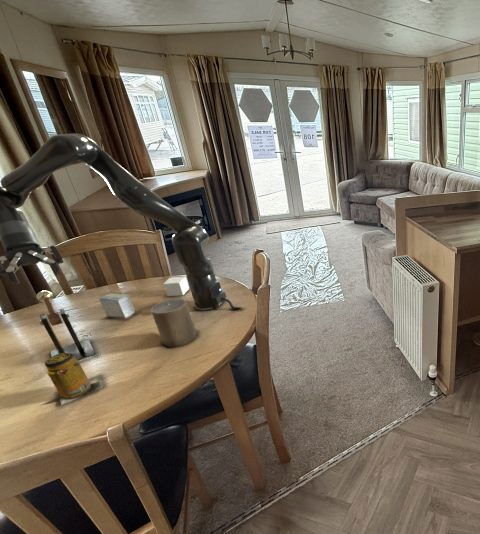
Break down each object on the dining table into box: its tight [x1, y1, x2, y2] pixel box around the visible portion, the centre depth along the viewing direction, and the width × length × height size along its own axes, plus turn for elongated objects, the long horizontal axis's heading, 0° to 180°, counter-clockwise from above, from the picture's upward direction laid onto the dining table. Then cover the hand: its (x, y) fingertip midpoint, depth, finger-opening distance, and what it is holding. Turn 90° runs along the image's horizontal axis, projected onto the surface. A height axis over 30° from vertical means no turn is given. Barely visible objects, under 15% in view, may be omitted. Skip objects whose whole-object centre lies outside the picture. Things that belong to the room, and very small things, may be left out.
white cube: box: [162, 276, 190, 297], centre depth 147 cm, size 6×6×6 cm
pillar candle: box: [150, 298, 198, 348], centre depth 115 cm, size 10×10×15 cm
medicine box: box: [99, 293, 137, 319], centre depth 128 cm, size 8×4×9 cm, turn 84°
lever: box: [35, 290, 63, 327], centre depth 105 cm, size 14×4×4 cm, turn 51°
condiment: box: [44, 353, 104, 406], centre depth 93 cm, size 7×8×12 cm
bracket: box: [39, 308, 96, 361], centre depth 106 cm, size 12×9×16 cm
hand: (37, 279), depth 109 cm, fingers open, 8 cm apart
